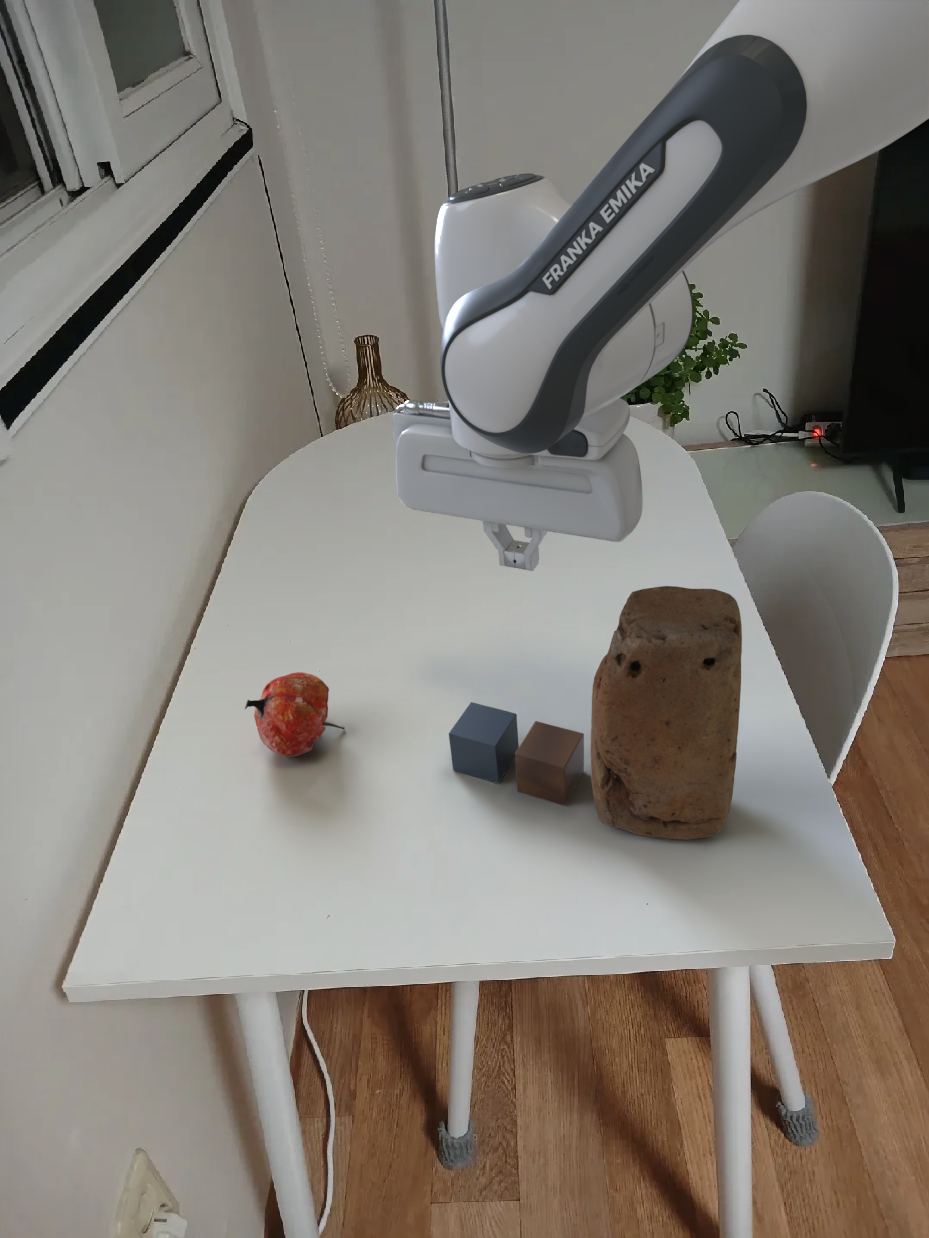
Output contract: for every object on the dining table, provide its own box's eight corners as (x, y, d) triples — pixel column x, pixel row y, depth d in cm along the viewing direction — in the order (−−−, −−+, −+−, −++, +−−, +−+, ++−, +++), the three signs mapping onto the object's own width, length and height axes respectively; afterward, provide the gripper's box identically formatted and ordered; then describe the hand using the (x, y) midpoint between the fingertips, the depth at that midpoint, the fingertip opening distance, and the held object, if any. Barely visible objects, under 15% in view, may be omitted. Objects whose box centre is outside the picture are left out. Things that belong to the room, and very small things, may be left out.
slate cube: (519, 750, 84) (516, 713, 82) (498, 784, 81) (495, 746, 79) (474, 738, 86) (470, 701, 84) (452, 770, 83) (448, 733, 81)
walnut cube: (584, 771, 82) (584, 733, 79) (565, 806, 79) (564, 767, 76) (537, 757, 84) (535, 720, 81) (516, 791, 80) (514, 753, 78)
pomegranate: (324, 724, 93) (228, 694, 88) (361, 675, 89) (264, 641, 85) (328, 783, 87) (227, 755, 83) (369, 733, 84) (265, 700, 79)
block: (722, 780, 80) (743, 580, 68) (730, 849, 74) (755, 643, 62) (592, 774, 81) (591, 579, 70) (589, 842, 75) (587, 640, 64)
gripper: (369, 413, 74) (393, 564, 82) (623, 442, 65) (623, 607, 73) (408, 382, 78) (427, 528, 86) (650, 405, 70) (647, 565, 78)
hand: (519, 565), depth 80 cm, fingers closed
